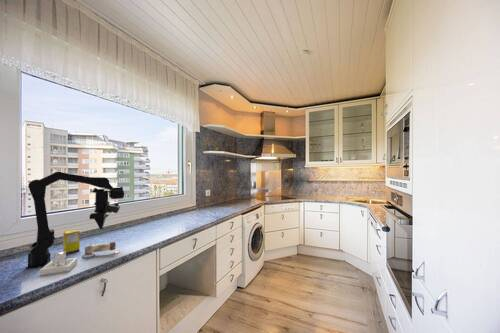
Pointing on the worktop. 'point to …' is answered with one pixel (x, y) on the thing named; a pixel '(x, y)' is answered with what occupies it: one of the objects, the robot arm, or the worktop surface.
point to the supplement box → (71, 241)
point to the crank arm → (99, 248)
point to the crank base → (94, 254)
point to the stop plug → (60, 259)
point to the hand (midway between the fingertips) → (101, 228)
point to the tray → (54, 270)
